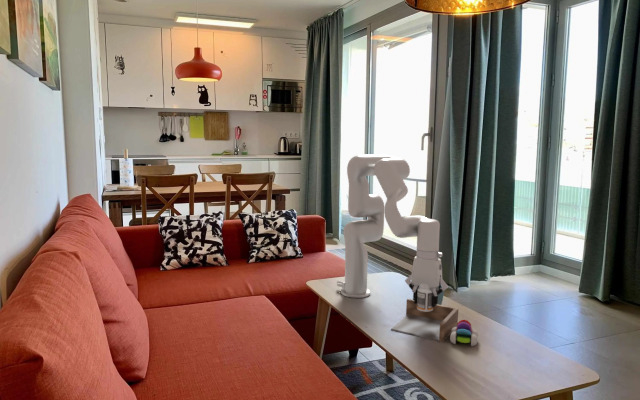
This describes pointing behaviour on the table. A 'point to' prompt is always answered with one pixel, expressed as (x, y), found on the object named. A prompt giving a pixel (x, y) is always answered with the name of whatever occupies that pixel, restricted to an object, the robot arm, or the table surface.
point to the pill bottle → (424, 298)
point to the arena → (428, 321)
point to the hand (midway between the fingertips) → (425, 303)
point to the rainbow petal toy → (464, 333)
